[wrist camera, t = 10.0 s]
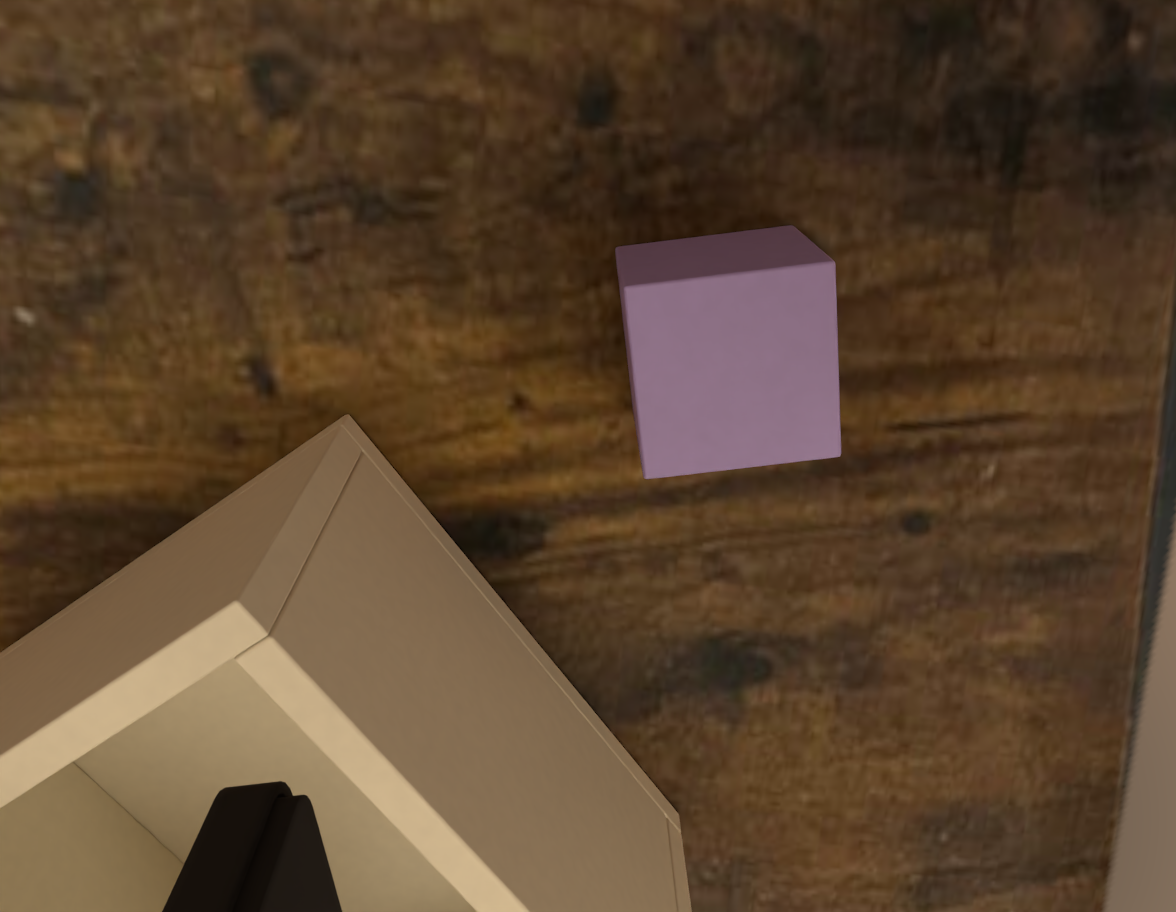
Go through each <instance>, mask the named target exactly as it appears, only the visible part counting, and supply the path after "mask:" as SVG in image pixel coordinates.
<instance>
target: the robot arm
mask: <svg viewBox="0 0 1176 912" xmlns="http://www.w3.org/2000/svg"><path fill="white" fill-rule="evenodd" d="M162 912H342V909H341V905H340V902H339V898H338V895H337V891H336V887H335V884H334V880H333V877H332V873H331V870H330V866H329V862H328V859H327V855H326V852H325V848H324V845H323V841H322V837H321V834H320V830H319V827H318V823H317V820H316V816H315V813H314V809H313V806H312V803H311V800H310V799H309V797H308V796H307V795H296V796H293V794H292V792H291V789H290V787H289V786H288V785H287V784H286V782H282V781H278V782H269V783H260V784H251V785H243V786H234V787H225V788H223V789H222V790H220V791H219V793H218V794H217V796H216V797H215V799H214V801H213V803H212V805H211V807H210V810H209V812H208V814H207V816H206V818H205V820H204V822H203V825H202V827H201V829H200V831H199V833H198V835H197V838H196V840H195V842H194V844H193V846H192V848H191V850H190V853H189V855H188V857H187V859H186V861H185V863H184V865H183V868H182V870H181V872H180V874H179V876H178V878H177V881H176V883H175V885H174V887H173V889H172V891H171V893H170V896H169V898H168V900H167V902H166V904H165V906H164V909H163V911H162Z"/></svg>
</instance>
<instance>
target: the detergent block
mask: <svg viewBox="0 0 1176 912" xmlns="http://www.w3.org/2000/svg"><path fill="white" fill-rule="evenodd" d="M615 253H616V262H617V271H618V280H619V289H620V298H621V307H622V316H623V325H624V334H625V343H626V352H627V361H628V370H629V379H630V388H631V397H632V406H633V414H634V421H635V427H636V433H637V440H638V446H639V452H640V459H641V465H642V471H643V477H644V478H645V479H653V478H662V477H670V476H679V475H687V474H696V473H705V472H713V471H722V470H731V469H739V468H748V467H756V466H765V465H774V464H782V463H791V462H799V461H808V460H817V459H825V458H834V457H839V456H840V455H841V430H840V397H839V365H838V332H837V300H836V267H835V262H834V260H832V259H831V258H830V257H829V256H828V255H827V254H825V253H824V252H823V251H822V250H821V249H820V248H819V247H817V246H816V245H815V244H814V243H813V242H812V241H810V240H809V239H808V238H807V237H806V236H805V235H803V234H802V233H801V232H800V231H799V230H798V229H797V228H795V227H794V226H792V225H789V226H780V227H772V228H764V229H756V230H748V231H740V232H732V233H724V234H716V235H708V236H700V237H692V238H684V239H676V240H667V241H659V242H651V243H643V244H635V245H627V246H619V247H617V248H616V249H615Z"/></svg>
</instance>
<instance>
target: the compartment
mask: <svg viewBox="0 0 1176 912" xmlns="http://www.w3.org/2000/svg"><path fill="white" fill-rule="evenodd" d="M278 781H282V782H286V784H287V785H288V786H289V787H290V789H291V792H292V794H293V796H296V795H307V796H308V797H309V799H310V800H311V803H312V806H313V809H314V813H315V816H316V820H317V823H318V827H319V830H320V834H321V837H322V841H323V845H324V848H325V852H326V855H327V859H328V862H329V866H330V870H331V873H332V877H333V880H334V884H335V887H336V891H337V895H338V898H339V902H340V905H341V909H342V912H692V911H691V903H690V896H689V888H688V881H687V874H686V866H685V859H684V851H683V844H682V836H681V834H680V833H681V827H680V820H679V814H678V813H677V811H676V810H675V809H674V808H673V807H672V805H671V804H670V803H669V802H668V801H667V799H666V798H665V797H664V796H663V795H662V793H661V792H660V791H659V790H658V788H657V787H656V786H655V785H654V784H653V782H652V781H651V780H650V779H649V778H648V776H647V775H646V774H645V773H644V771H643V770H642V769H641V768H640V767H639V765H638V764H637V763H636V762H635V761H634V759H633V758H632V757H631V756H630V754H629V753H628V752H627V751H626V750H625V748H624V747H623V746H622V745H621V744H620V742H619V741H618V740H617V739H616V738H615V736H614V735H613V734H612V733H611V731H610V730H609V729H608V728H607V727H606V725H605V724H604V723H603V722H602V721H601V719H600V718H599V717H598V716H597V714H596V713H595V712H594V711H593V710H592V708H591V707H590V706H589V705H588V704H587V702H586V701H585V700H584V699H583V698H582V696H581V695H580V694H579V693H578V691H577V690H576V689H575V688H574V687H573V685H572V684H571V683H570V682H569V681H568V679H567V678H566V677H565V676H564V674H563V673H562V672H561V671H560V670H559V668H558V667H557V666H556V665H555V664H554V662H553V661H552V660H551V659H550V658H549V656H548V655H547V654H546V653H545V651H544V650H543V649H542V648H541V647H540V645H539V644H538V643H537V642H536V641H535V639H534V638H533V637H532V636H531V634H530V633H529V632H528V631H527V630H526V628H525V627H524V626H523V625H522V624H521V622H520V621H519V620H518V619H517V617H516V616H515V615H514V614H513V613H512V611H511V610H510V609H509V608H508V607H507V605H506V604H505V603H504V602H503V601H502V599H501V598H500V597H499V596H498V594H497V593H496V592H495V591H494V590H493V588H492V587H491V586H490V585H489V584H488V582H487V581H486V580H485V579H484V577H483V576H482V575H481V574H480V573H479V571H478V570H477V569H476V568H475V567H474V565H473V564H472V563H471V562H470V561H469V559H468V558H467V557H466V556H465V554H464V553H463V552H462V551H461V550H460V548H459V547H458V546H457V545H456V544H455V542H454V541H453V540H452V539H451V537H450V536H449V535H448V534H447V533H446V531H445V530H444V529H443V528H442V527H441V525H440V524H439V523H438V522H437V521H436V519H435V518H434V517H433V516H432V514H431V513H430V512H429V511H428V510H427V508H426V507H425V506H424V505H423V504H422V502H421V501H420V500H419V499H418V497H417V496H416V495H415V494H414V493H413V491H412V490H411V489H410V488H409V487H408V485H407V484H406V483H405V482H404V480H403V479H402V478H401V477H400V476H399V474H398V473H397V472H396V471H395V470H394V468H393V467H392V466H391V465H390V464H389V462H388V461H387V460H386V459H385V457H384V456H383V455H382V454H381V453H380V451H379V450H378V449H377V448H376V447H375V445H374V444H373V443H372V442H371V440H370V439H369V438H368V437H367V436H366V434H365V433H364V432H363V431H362V430H361V428H360V427H359V426H358V425H357V424H356V422H355V421H354V420H353V419H352V417H351V416H350V415H348V414H347V415H344V416H343V417H341V418H340V419H339V420H337V421H336V422H334V423H333V424H331V425H330V426H328V427H327V428H326V429H324V430H323V431H321V432H320V433H318V434H317V435H315V436H314V437H312V438H311V439H310V440H308V441H307V442H305V443H304V444H302V445H301V446H299V447H298V448H296V449H295V450H294V451H292V452H291V453H289V454H288V455H286V456H285V457H283V458H282V459H281V460H279V461H278V462H276V463H275V464H273V465H272V466H270V467H269V468H267V469H266V470H265V471H263V472H262V473H260V474H259V475H257V476H256V477H254V478H253V479H252V480H250V481H249V482H247V483H246V484H244V485H243V486H241V487H240V488H238V489H237V490H236V491H234V492H233V493H231V494H230V495H228V496H227V497H225V498H224V499H222V500H221V501H220V502H218V503H217V504H215V505H214V506H212V507H211V508H209V509H208V510H207V511H205V512H204V513H202V514H201V515H199V516H198V517H196V518H195V519H193V520H192V521H191V522H189V523H188V524H186V525H185V526H183V527H182V528H180V529H179V530H178V531H176V532H175V533H173V534H172V535H170V536H169V537H167V538H166V539H164V540H163V541H162V542H160V543H159V544H157V545H156V546H154V547H153V548H151V549H150V550H148V551H147V552H146V553H144V554H143V555H141V556H140V557H138V558H137V559H135V560H134V561H133V562H131V563H130V564H128V565H127V566H125V567H124V568H122V569H121V570H119V571H118V572H117V573H115V574H114V575H112V576H111V577H109V578H108V579H106V580H105V581H104V582H102V583H101V584H99V585H98V586H96V587H95V588H93V589H92V590H90V591H89V592H88V593H86V594H85V595H83V596H82V597H80V598H79V599H77V600H76V601H74V602H73V603H72V604H70V605H69V606H67V607H66V608H64V609H63V610H61V611H60V612H59V613H57V614H56V615H54V616H53V617H51V618H50V619H48V620H47V621H45V622H44V623H43V624H41V625H40V626H38V627H37V628H35V629H34V630H32V631H31V632H30V633H28V634H27V635H25V636H24V637H22V638H21V639H19V640H18V641H16V642H15V643H14V644H12V645H11V646H9V647H8V648H6V649H5V650H3V651H2V652H0V912H162V911H163V909H164V906H165V904H166V902H167V900H168V898H169V896H170V893H171V891H172V889H173V887H174V885H175V883H176V881H177V878H178V876H179V874H180V872H181V870H182V868H183V865H184V863H185V861H186V859H187V857H188V855H189V853H190V850H191V848H192V846H193V844H194V842H195V840H196V838H197V835H198V833H199V831H200V829H201V827H202V825H203V822H204V820H205V818H206V816H207V814H208V812H209V810H210V807H211V805H212V803H213V801H214V799H215V797H216V796H217V794H218V793H219V791H220V790H222V789H223V788H225V787H234V786H243V785H251V784H260V783H269V782H278Z"/></svg>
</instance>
